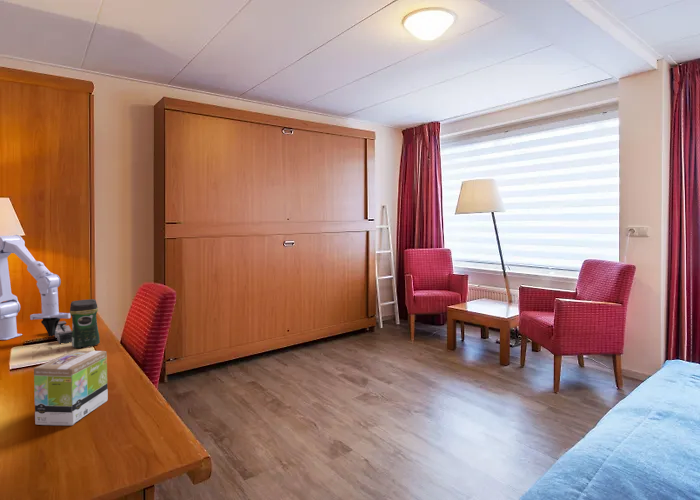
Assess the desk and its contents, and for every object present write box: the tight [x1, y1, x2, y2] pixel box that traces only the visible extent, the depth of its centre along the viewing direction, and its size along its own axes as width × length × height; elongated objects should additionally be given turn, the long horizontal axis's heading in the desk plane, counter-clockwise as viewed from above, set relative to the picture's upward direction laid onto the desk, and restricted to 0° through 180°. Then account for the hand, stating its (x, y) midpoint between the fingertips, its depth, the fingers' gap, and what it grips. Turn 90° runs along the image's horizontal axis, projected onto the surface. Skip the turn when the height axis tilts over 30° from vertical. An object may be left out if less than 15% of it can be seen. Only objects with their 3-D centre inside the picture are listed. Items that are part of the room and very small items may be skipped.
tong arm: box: [53, 320, 67, 345], centre depth 182 cm, size 21×4×5 cm, turn 41°
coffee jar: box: [69, 298, 101, 349], centre depth 170 cm, size 10×8×19 cm
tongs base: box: [60, 324, 72, 344], centre depth 182 cm, size 20×4×4 cm, turn 38°
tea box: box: [33, 350, 109, 426], centre depth 112 cm, size 15×10×15 cm
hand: (51, 335), depth 178 cm, fingers closed
